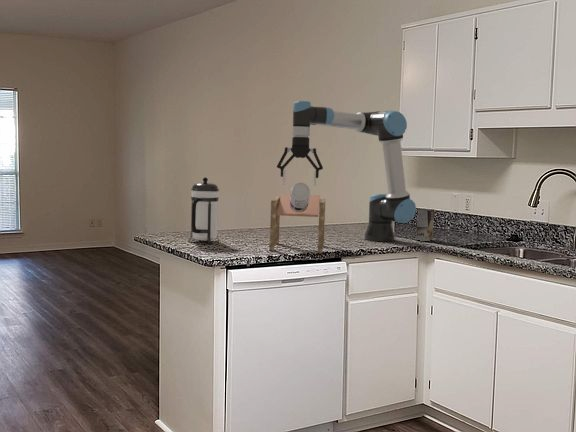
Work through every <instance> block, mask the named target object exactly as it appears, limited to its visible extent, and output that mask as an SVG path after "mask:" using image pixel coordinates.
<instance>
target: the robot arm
mask: <svg viewBox="0 0 576 432" xmlns="http://www.w3.org/2000/svg"><path fill="white" fill-rule="evenodd" d="M292 113H293V114H292V139H291V140H292V141H291V143H292V144H291V147H284V152H283V154H282V155H281V157H280V160H279V161H278V163H277V165H276V168H277V169H279V170H280V177H281V178H282V185H286V169H285V168H286V167H287V166H288V165H289V164H290V162H291V161H293V159H294V158H296V159H298V158H299V159H300V158H301V159H305V158H306V160H308V162H309V163H310V164H311V166H312V167H313V168H314V171H313V186H315V187H316V181H317V180H316V179H319V175H320V173H319V172H320V171H321V170H323V169H324V167H323V165H322V162H321V161H320V158H319V156H318V153H317V148H315V147H314V148H310V137H309V136H310V134H311V133H310V132H311V126H318V127H327V128H328V127H329V128H339V129H347V130H354V131H355V132H356V133H363V134H368V135H371V136H372V135H373V136H378V142H380V143H381V144H382V152H383V160H384V161H383V162H384V168H385V169H384V170H385V177H386V185H387V186H386V187H387V193H383V194H381V193H378V194H372V195H371V196H370V197H369V202H368V203H369V205H368V225H367V227H366V230H365V233H364V240H367V241H372V242H373V241H374V242H394V241H395V239H396V237H395V236H396V235H395V231H394V228H393V222H395V223H403V224H404V223H408V222H410V221H412V219H413V218H414V216H416V215H415V214H416V211H417V206H416V203H415V202H414V200H413V199H411V196H410V193H409V192H408V190H407V189H406V180H405V171H404V170H405V169H404V163H403V160H404V159H403V154H402V145H401V144H402V140H403V139H404V134H405V132H406V130H407V128H408V123H407V119H406V117H405V115H404V114H402V113H401V112H399V111H397V110H383V111H380V110H379V111H378V110H377V111H371V112H369V111H367V112H362V111H358V112H357V113H354V112H353V113H351V112H342V111H335V110H334V109H333V108H331V107H327V106H313V105H312V102H311V101H309V100H308V101H307V100H295V101H294V102H293V109H292ZM290 152H291V153H292V154H291V156H290V157H289V158H288V159H287V160H286V161H285V163H283V162H284V160H285V158H286V156H287V154H288V153H290ZM310 152H311V153H312V154H313V156H314V158H315V161H316V162H317V164H318V165H317V164H315V162H314V161H313V159H312V157H310V156H309V153H310Z"/></svg>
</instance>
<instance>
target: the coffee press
mask: <svg viewBox="0 0 576 432" xmlns="http://www.w3.org/2000/svg"><path fill="white" fill-rule="evenodd" d="M202 181H203V182H197V183H194V184H192V187H191V188H190V190H191V197H190V199H191V210H190V211H191V212H190V213H191V214H190V215H191V216H190V217H191V220H190V222H191V223H190V237H189V239H188V240H187V241H188V242H189V243H192V242H193V241H195V240H196V241H206V243H207V245H211V244H212V241H215V242H219V241H220V238H219V237H218V215H219V214H218V211H219V210H218V209H219V207H218V206H219V191H220V189H219V186H218V185H217V184H215V183H212V182H211V183H210V182H208V178H207V176H206V177H203V178H202Z"/></svg>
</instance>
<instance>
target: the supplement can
mask: <svg viewBox="0 0 576 432" xmlns="http://www.w3.org/2000/svg"><path fill="white" fill-rule="evenodd" d="M290 194H291V195H290V207H291V209H292V210H293V211H295V212H299V213H300V212H304V211H305V210H306V209H307V208H308V203H309V197H310V195H311V189H310V187H309V185H307V184H306V183H304V182H298V183H295V184H293V186H292V187H291V190H290Z"/></svg>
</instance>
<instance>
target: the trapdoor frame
mask: <svg viewBox="0 0 576 432" xmlns="http://www.w3.org/2000/svg"><path fill="white" fill-rule="evenodd" d="M280 197H281V196H275V197H274V198H272V199H271V201H270V222H269V224H270V227H269V228H270V229H269V251H270V250H271V251H270V252H272V251H273V252H275V249H276V248H275V247H276V246H275V245H279V244H280V225H281V224H280V223H281V222H280V221H281V220H280V219H281V215H277V212H278V207H279V202H280ZM325 218H326V198H323V197H322V198H321V197H320V204H319V213H318V235H317V237H318V239H317V254H323V247H324V245H325V243H324V242H325V221H326V219H325Z"/></svg>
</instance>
